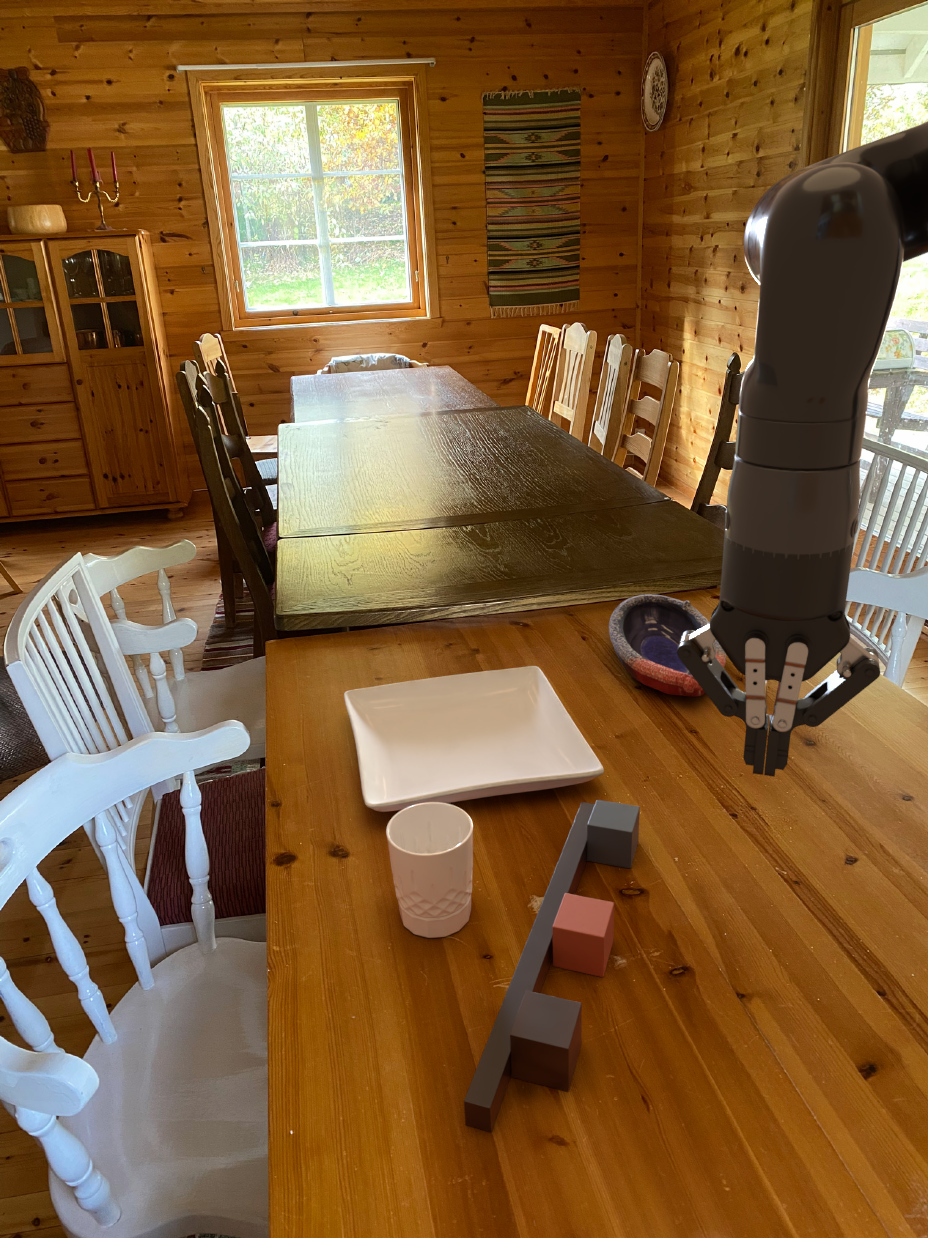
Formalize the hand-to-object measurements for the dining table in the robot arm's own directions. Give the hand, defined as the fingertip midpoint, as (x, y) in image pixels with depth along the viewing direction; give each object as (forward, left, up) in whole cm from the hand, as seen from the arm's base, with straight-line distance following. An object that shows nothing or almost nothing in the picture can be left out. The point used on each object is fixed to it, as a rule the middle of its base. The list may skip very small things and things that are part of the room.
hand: (763, 768), depth 63 cm
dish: (+15, -65, -25) cm, 71 cm away
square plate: (+35, -34, -25) cm, 55 cm away
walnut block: (+14, +7, -25) cm, 29 cm away
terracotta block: (+14, -5, -25) cm, 29 cm away
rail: (+17, -5, -25) cm, 31 cm away
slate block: (+14, -20, -25) cm, 35 cm away
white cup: (+28, -6, -25) cm, 38 cm away
